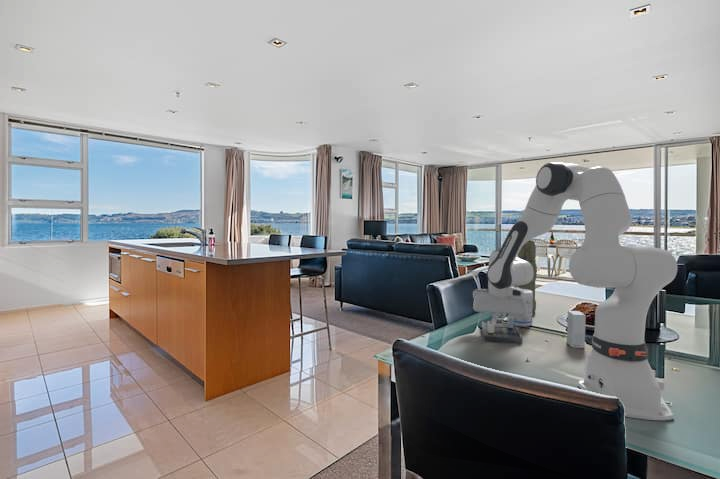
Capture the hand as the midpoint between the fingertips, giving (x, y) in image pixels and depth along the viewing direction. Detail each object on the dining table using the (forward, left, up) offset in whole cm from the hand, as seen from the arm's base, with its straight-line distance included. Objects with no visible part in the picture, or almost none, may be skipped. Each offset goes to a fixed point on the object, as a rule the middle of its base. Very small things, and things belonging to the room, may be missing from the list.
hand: (499, 323), depth 153 cm
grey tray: (-4, 0, -4) cm, 5 cm away
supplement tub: (+14, -10, -4) cm, 18 cm away
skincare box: (-10, -25, -4) cm, 27 cm away
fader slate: (0, -4, -1) cm, 4 cm away
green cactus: (+33, -16, -4) cm, 37 cm away
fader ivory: (-8, +4, -1) cm, 9 cm away
